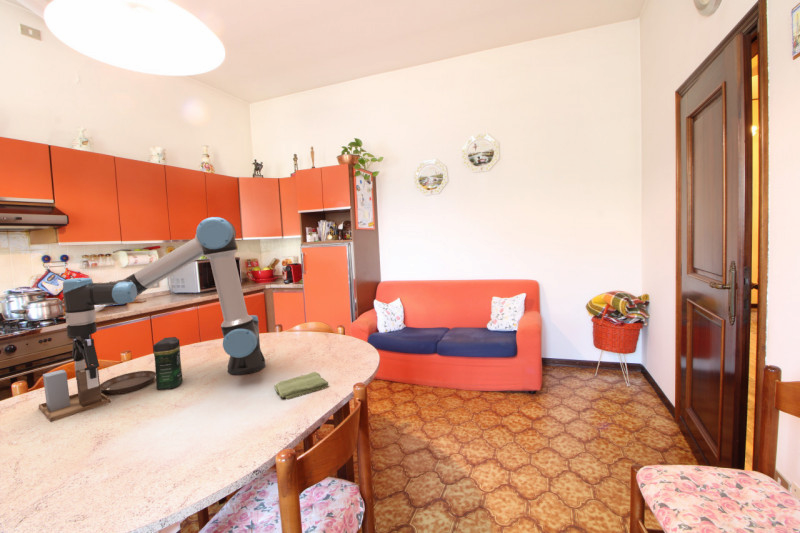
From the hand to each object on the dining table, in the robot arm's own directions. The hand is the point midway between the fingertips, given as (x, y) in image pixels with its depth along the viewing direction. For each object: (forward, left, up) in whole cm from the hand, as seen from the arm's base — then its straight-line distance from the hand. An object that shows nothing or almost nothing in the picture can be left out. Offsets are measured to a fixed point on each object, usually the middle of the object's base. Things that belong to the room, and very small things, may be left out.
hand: (87, 382), depth 121 cm
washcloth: (-55, -47, -8) cm, 73 cm away
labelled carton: (0, 0, -7) cm, 7 cm away
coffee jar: (-8, -22, -8) cm, 25 cm away
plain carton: (+6, +7, -7) cm, 12 cm away
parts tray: (+2, +3, -8) cm, 9 cm away
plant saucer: (+6, -13, -8) cm, 17 cm away
